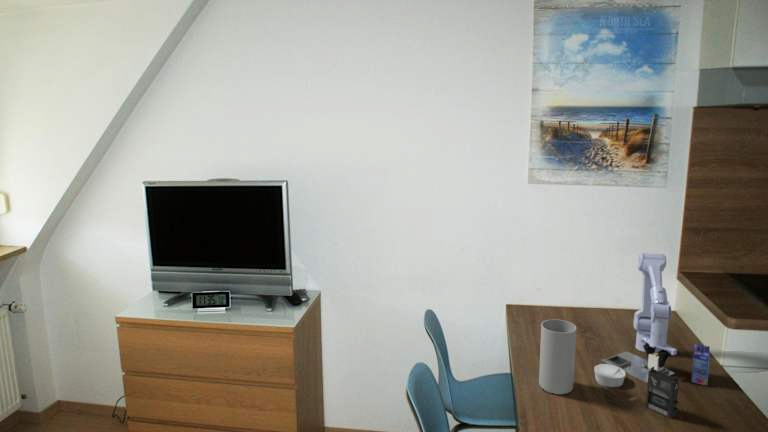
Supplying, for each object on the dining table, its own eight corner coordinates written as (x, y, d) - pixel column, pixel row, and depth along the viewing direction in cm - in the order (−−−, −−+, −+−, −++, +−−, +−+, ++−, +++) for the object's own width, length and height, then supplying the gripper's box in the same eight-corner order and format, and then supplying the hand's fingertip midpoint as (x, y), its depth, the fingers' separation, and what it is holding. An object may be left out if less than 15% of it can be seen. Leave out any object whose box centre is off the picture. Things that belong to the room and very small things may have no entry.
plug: (654, 365, 208) (655, 350, 207) (663, 369, 205) (664, 354, 204) (647, 368, 207) (648, 352, 205) (656, 372, 203) (658, 357, 202)
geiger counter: (680, 415, 178) (684, 375, 175) (673, 420, 175) (677, 379, 172) (650, 402, 186) (653, 364, 183) (643, 406, 184) (646, 367, 181)
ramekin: (628, 391, 194) (629, 378, 192) (596, 389, 196) (597, 376, 195) (620, 376, 204) (621, 364, 203) (590, 374, 206) (591, 362, 205)
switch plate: (626, 353, 223) (627, 349, 223) (674, 375, 204) (675, 370, 204) (601, 362, 216) (601, 357, 216) (648, 385, 197) (648, 381, 197)
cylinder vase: (570, 379, 203) (573, 320, 198) (575, 396, 191) (578, 334, 186) (537, 377, 205) (539, 318, 200) (540, 393, 193) (542, 331, 188)
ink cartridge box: (691, 371, 207) (695, 337, 204) (707, 374, 204) (711, 340, 201) (690, 382, 199) (694, 347, 196) (707, 386, 196) (711, 350, 193)
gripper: (635, 328, 207) (633, 359, 210) (669, 341, 195) (666, 374, 197) (647, 324, 211) (644, 355, 213) (681, 337, 198) (678, 370, 201)
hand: (656, 364), depth 205 cm, fingers closed on plug, 4 cm apart
